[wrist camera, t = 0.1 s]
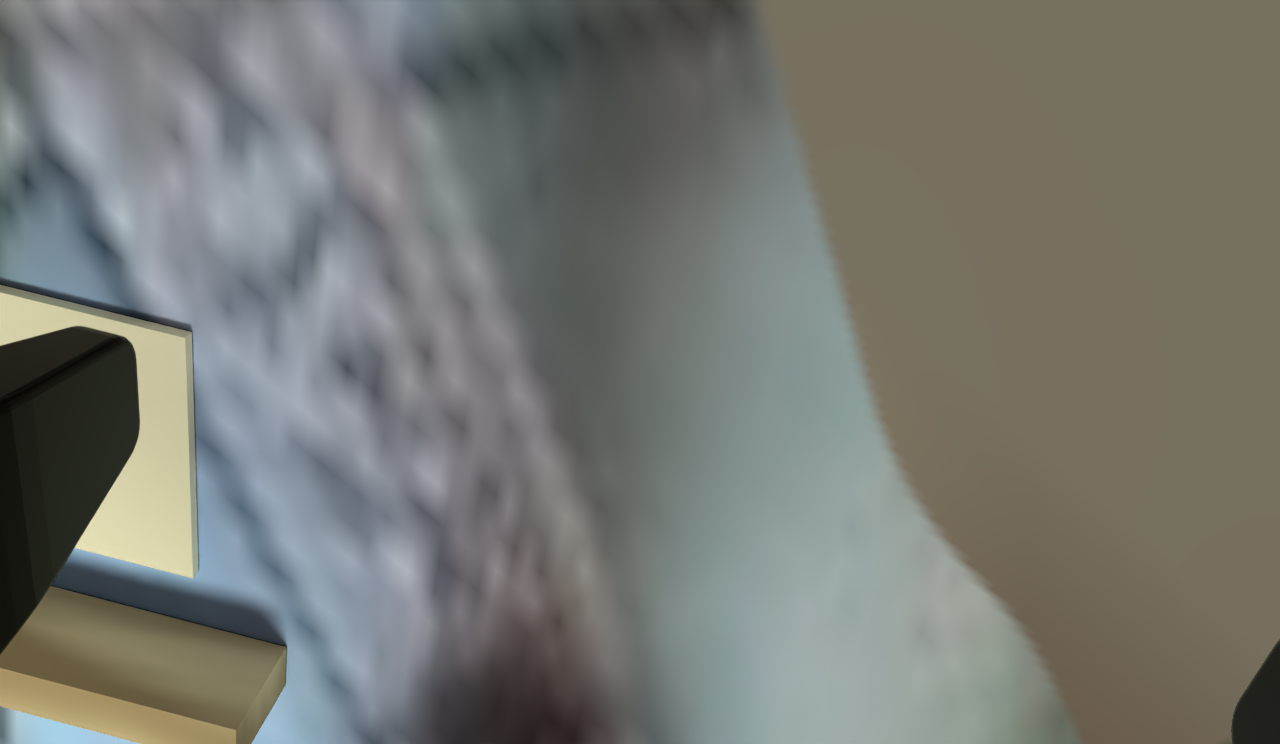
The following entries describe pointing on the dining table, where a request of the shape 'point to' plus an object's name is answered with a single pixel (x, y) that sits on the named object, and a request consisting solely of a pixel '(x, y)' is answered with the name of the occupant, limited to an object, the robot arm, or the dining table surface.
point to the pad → (165, 450)
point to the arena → (139, 673)
